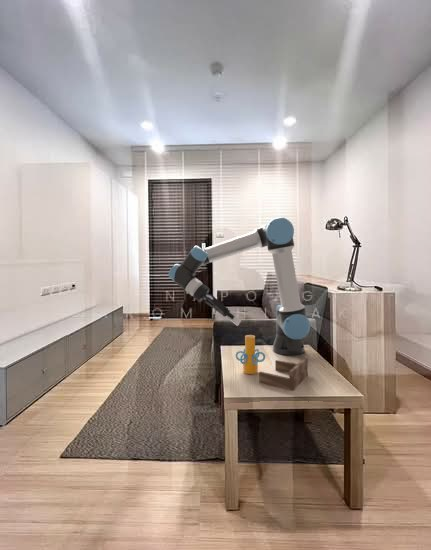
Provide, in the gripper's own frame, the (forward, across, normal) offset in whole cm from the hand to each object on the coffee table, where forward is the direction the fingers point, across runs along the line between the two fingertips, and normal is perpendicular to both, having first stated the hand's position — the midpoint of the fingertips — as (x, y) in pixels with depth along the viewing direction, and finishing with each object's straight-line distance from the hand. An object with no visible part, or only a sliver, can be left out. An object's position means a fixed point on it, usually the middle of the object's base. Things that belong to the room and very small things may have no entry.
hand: (239, 323), depth 136 cm
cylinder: (+16, -2, -13) cm, 20 cm away
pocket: (+27, +5, -7) cm, 29 cm away
